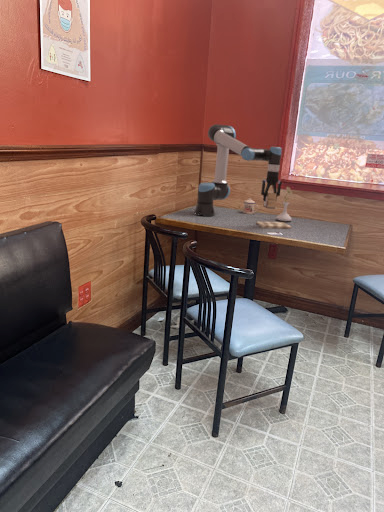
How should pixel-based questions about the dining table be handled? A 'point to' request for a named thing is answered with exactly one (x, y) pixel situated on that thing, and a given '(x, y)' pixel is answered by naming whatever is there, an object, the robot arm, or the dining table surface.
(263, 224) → the board
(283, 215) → the flower in vase
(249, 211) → the teacup with lid
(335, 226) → the dining table surface
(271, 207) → the block
